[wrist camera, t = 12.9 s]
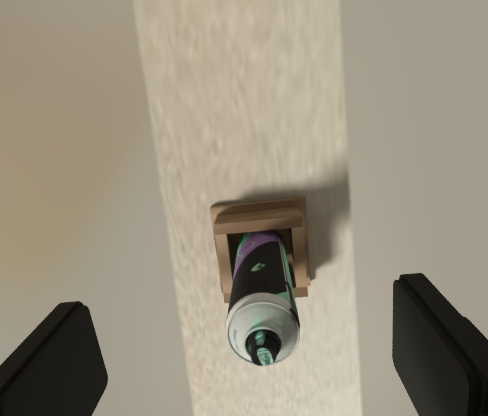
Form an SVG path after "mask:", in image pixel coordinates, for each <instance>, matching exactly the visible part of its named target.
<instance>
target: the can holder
mask: <svg viewBox="0 0 488 416" xmlns="http://www.w3.org/2000/svg"><path fill="white" fill-rule="evenodd" d="M210 210H211V218H212V225H213V232H214V239H215V246H216V253H217V261H218V268H219V275H220V282H221V289H222V293H223V295H224V302H225V303H230V296H231V290H232V283H233V276H234V270H235V263H236V257H237V250H238V244H239V240H240V238H241V236H242V234H243V233H244V232H254V231H265V230H277V231H278V232H279V233H280V235H281V237H282V239H283V242H284V246H285V251H286V256H287V261H288V267H289V272H290V277H291V282H292V287H293V292H294V297H308V291H307V286H310V271H309V257H308V242H307V228H306V213H305V199H304V197H298V198H288V199H278V200H268V201H257V202H247V203H237V204H227V205H216V206H211V208H210Z"/></svg>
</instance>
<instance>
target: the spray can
mask: <svg viewBox="0 0 488 416" xmlns="http://www.w3.org/2000/svg"><path fill="white" fill-rule="evenodd" d="M226 331H227V340H228V343H229V346H230V348H231V349H232V351H233V352H234V353H235V354H236V355H237V356H238V357H239V358H240V359H242V360H243V361H245V362H248V363H250V364H253V365H258V366H268V365H274V364H277V363H280V362H282V361H284V360H285V359H287V358H288V357H289V356H290V355H291V354H292V353H293V352H294V351H295V349H296V347H297V346H298V342H299V337H300V323H299V318H298V312H297V307H296V302H295V297H294V292H293V287H292V282H291V277H290V272H289V267H288V261H287V256H286V251H285V246H284V242H283V239H282V237H281V235H280V233H279V232H278V231H277V230H265V231H254V232H244V233H243V234H242V236H241V238H240V240H239V244H238V250H237V257H236V263H235V270H234V276H233V283H232V290H231V296H230V303H229V309H228V316H227V322H226Z"/></svg>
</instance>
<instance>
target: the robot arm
mask: <svg viewBox="0 0 488 416" xmlns="http://www.w3.org/2000/svg"><path fill="white" fill-rule="evenodd" d="M392 351H393V354H392V356H393V362H394V366H395V369H396V371H397V373H398V375H399V377H400V379H401V381H402V383H403V385H404V387H405V389H406V391H407V393H408V395H409V397H410V399H411V401H412V403H413V405H414V407H415V408H416V411H417V413H418V415H419V416H488V340H487V338H485V336H484V335H483V334H482V333H481V332H480V331H479V330H478V329H477V328H476V327H475V326H474V325H473V324H472V323H471V321H470V320H468V319H467V318H466V317H463V316H462V315H461V314H460V313H459V312H458V311H457V310H456V309H455V308H454V307H453V306H452V305H451V304H450V303H449V301H447V299H446V298H445V297H444V296H443V295H442V294H441V293H440V292H439V291H438V290H437V288H436V287H435V286H434V285H433V284H432V283H431V282H430V281H429V280H428V279H427V278H426V277H425V276H424V274H422V273H415V274H403V275H400V278H399V280H395V281H394V284H393V349H392ZM107 380H108V375H107V371H106V368H105V365H104V361H103V357H102V354H101V350H100V347H99V343H98V340H97V336H96V332H95V329H94V325H93V322H92V318H91V315H90V311H89V309H88V307H87V306H84V305H83V304H82V303H81V302H79V301H77V302H65V303H60V304H59V305H57V306H56V307H55V309H54V310H53V311H52V312H51V313H50V314H49V315H48V316H47V317H46V318H45V319H44V320H43V321H42V322H41V323H40V324H39V325H38V326H37V328H36V329H35V330H34V331H33V332H32V333H31V334H30V335H29V336H28V337H27V338H26V339H25V340H24V341H23V342H22V343H21V344H20V345H19V346H18V347H17V349H16V350H15V351H14V352H13V353H12V354H11V355H10V356H9V357H8V358H7V359H6V360H5V361H4V362H3V363H2V364H1V365H0V416H92V414H93V412H94V410H95V408H96V406H97V404H98V402H99V400H100V398H101V396H102V394H103V393H104V390H105V388H106V386H107V382H108V381H107Z"/></svg>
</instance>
